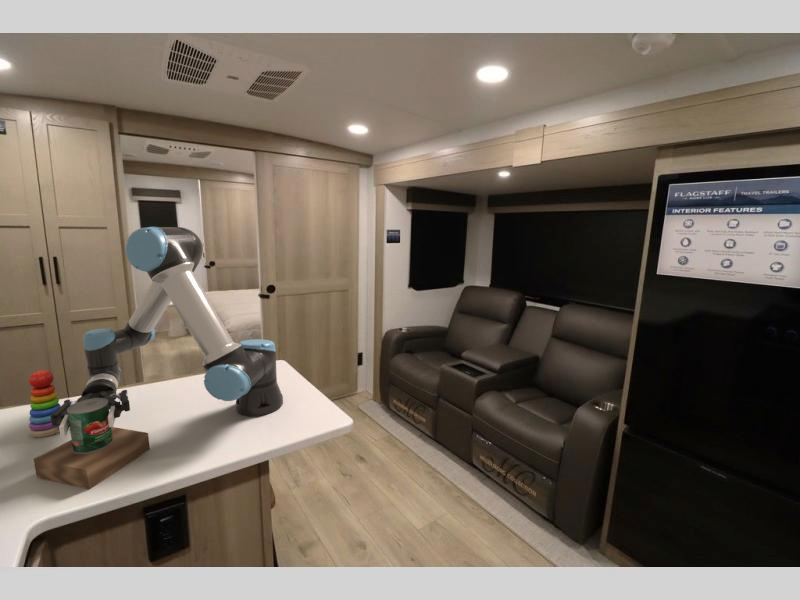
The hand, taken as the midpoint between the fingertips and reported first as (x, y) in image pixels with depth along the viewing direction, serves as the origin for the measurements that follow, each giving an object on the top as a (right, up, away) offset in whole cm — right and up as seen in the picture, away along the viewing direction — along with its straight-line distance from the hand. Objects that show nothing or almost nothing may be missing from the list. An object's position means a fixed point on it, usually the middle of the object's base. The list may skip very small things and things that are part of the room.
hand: (86, 426), depth 88 cm
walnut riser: (-3, -11, +6) cm, 13 cm away
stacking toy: (-28, -8, +20) cm, 36 cm away
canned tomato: (-3, -7, +5) cm, 9 cm away
